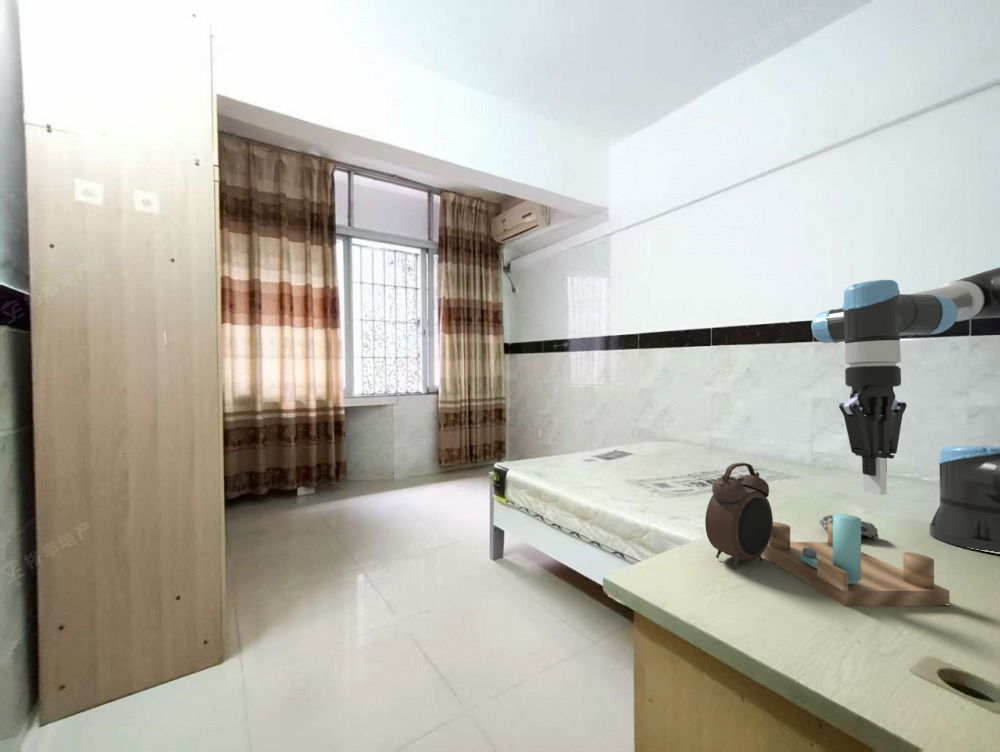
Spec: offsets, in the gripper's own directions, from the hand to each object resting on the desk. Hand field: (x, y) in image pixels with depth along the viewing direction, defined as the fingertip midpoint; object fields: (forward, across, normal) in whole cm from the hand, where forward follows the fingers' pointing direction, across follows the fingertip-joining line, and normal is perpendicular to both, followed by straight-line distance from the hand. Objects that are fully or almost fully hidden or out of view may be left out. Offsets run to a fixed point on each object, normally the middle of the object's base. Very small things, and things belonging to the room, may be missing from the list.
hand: (875, 492), depth 72 cm
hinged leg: (+14, +11, 0) cm, 17 cm away
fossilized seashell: (+18, -20, -20) cm, 33 cm away
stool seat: (+17, +4, -3) cm, 17 cm away
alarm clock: (+16, +18, -12) cm, 27 cm away
